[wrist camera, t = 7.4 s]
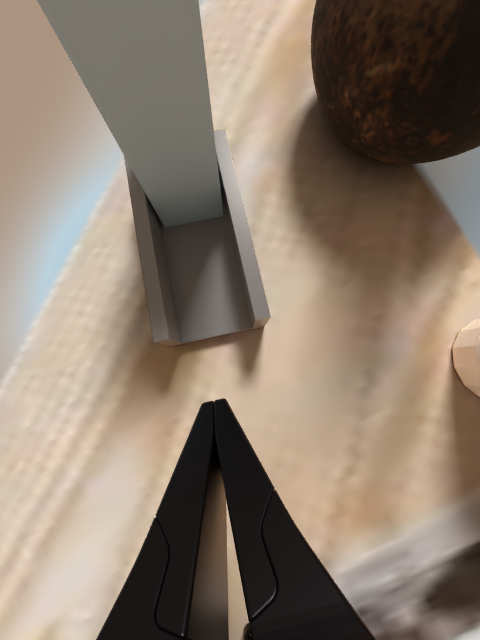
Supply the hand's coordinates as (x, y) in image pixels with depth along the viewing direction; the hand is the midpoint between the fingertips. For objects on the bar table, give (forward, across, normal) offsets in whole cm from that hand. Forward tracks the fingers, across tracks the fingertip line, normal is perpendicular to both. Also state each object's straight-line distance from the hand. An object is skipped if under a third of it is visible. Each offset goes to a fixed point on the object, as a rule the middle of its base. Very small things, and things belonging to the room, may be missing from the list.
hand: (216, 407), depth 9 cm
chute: (+15, 0, 0) cm, 15 cm away
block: (+18, 0, -5) cm, 19 cm away
